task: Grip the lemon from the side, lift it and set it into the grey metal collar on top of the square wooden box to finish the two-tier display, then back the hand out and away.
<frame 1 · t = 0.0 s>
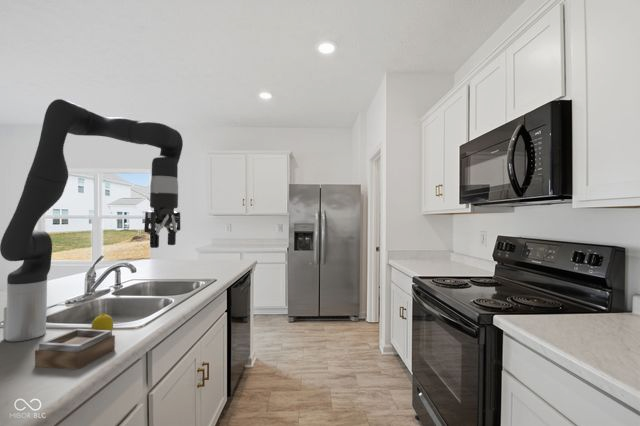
hand: (163, 246, 95), 29 cm above the worktop, tool pointing down, fingers open, 8 cm apart
lemon: (102, 340, 97), on the worktop
square wooden box: (77, 357, 85), on the worktop
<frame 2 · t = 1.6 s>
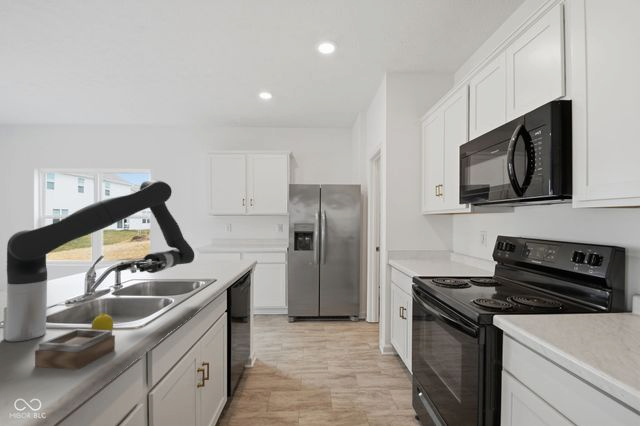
hand: (129, 268, 108), 20 cm above the worktop, tool horizontal, fingers open, 8 cm apart
nothing on the worktop moved.
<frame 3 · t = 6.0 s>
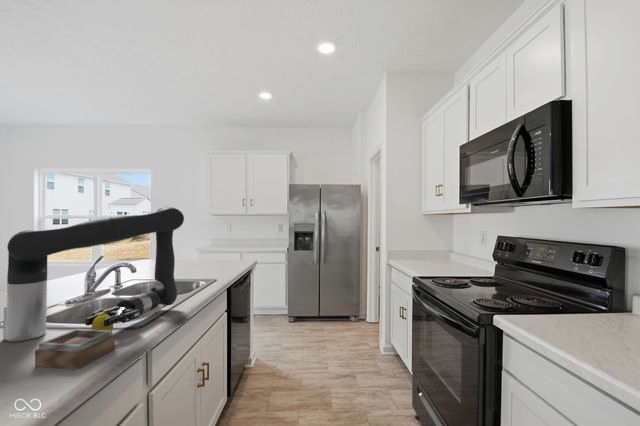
hand: (96, 322, 95), 6 cm above the worktop, tool horizontal, fingers closed on lemon, 5 cm apart
lemon: (102, 340, 97), on the worktop, touching gripper
when the fingers open (11 cm above the worktop, at t = 10.5 s): lemon drops 1 cm, resting on square wooden box.
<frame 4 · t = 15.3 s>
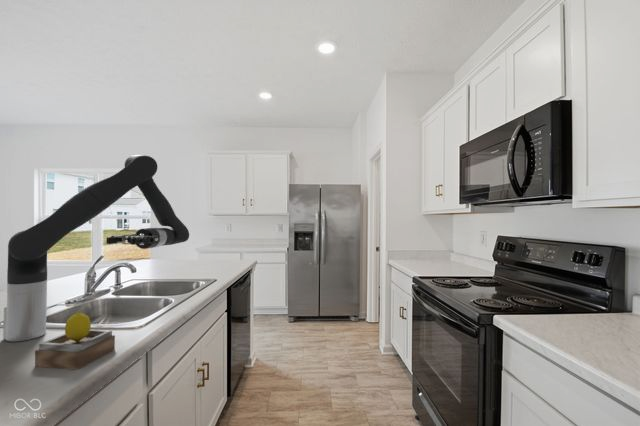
hand: (119, 241, 103), 30 cm above the worktop, tool horizontal, fingers open, 8 cm apart
lemon: (77, 342, 85), point 4 cm above the worktop, touching square wooden box
at the end: lemon 0.2 cm off-centre on the square wooden box, point 3.8 cm above the square wooden box's base; the gripper is holding nothing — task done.
